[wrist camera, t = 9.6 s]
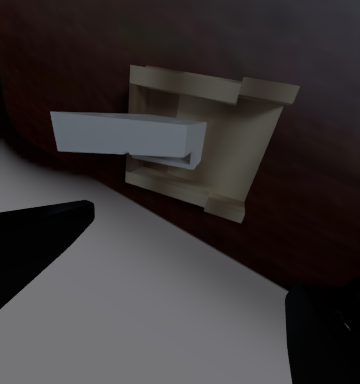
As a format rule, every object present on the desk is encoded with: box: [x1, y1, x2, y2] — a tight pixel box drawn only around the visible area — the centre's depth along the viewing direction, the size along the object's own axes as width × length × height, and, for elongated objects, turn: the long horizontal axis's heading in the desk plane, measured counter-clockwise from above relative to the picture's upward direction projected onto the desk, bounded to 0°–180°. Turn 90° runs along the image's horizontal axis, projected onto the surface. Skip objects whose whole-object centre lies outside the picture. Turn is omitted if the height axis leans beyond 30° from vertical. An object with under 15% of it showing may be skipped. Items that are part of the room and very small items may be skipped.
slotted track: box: [125, 65, 300, 223], centre depth 16 cm, size 12×11×4 cm
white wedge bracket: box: [50, 112, 207, 170], centre depth 14 cm, size 4×10×9 cm, turn 84°
